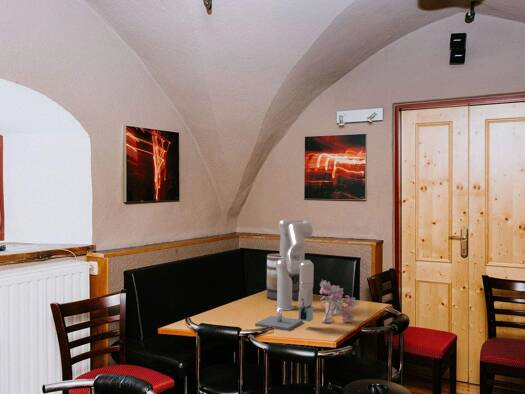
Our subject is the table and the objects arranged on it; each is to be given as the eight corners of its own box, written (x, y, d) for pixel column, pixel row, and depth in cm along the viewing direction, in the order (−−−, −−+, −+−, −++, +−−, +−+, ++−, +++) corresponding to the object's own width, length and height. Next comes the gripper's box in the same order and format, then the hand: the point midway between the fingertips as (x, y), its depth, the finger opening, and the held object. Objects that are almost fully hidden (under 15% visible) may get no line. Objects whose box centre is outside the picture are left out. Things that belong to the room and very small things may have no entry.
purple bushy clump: (340, 312, 316) (340, 293, 316) (339, 315, 307) (340, 296, 307) (321, 311, 319) (321, 292, 318) (319, 314, 310) (320, 295, 310)
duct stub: (278, 320, 286) (278, 308, 286) (282, 321, 285) (282, 308, 285) (275, 321, 284) (276, 309, 284) (280, 322, 282) (280, 309, 282)
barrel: (300, 301, 347) (300, 257, 347) (267, 301, 347) (267, 257, 347) (297, 294, 370) (297, 253, 369) (266, 294, 369) (266, 253, 369)
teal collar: (302, 317, 282) (302, 305, 282) (312, 319, 279) (313, 306, 279) (298, 320, 276) (298, 307, 276) (308, 321, 274) (309, 308, 274)
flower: (344, 327, 272) (357, 283, 280) (307, 317, 284) (320, 275, 292) (355, 336, 288) (367, 294, 296) (319, 326, 300) (331, 286, 308)
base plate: (271, 318, 298) (271, 315, 298) (302, 322, 289) (302, 319, 289) (255, 326, 280) (255, 323, 280) (288, 330, 271) (288, 327, 271)
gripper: (305, 281, 287) (305, 313, 287) (293, 287, 271) (293, 320, 272) (318, 283, 283) (317, 315, 284) (306, 288, 268) (306, 322, 268)
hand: (305, 317), depth 278 cm, fingers closed on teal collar, 5 cm apart
